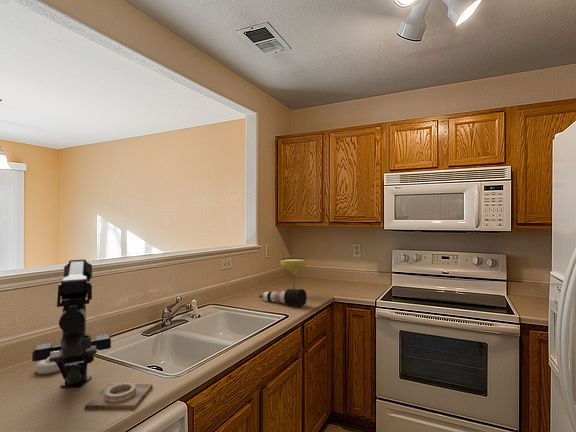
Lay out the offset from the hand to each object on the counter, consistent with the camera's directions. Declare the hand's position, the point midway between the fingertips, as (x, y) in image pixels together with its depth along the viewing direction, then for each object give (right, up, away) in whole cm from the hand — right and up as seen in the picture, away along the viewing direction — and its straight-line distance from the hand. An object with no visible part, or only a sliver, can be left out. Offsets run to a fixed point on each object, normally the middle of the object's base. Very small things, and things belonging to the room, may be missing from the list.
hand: (74, 376), depth 96 cm
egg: (0, -2, 0) cm, 2 cm away
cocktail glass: (+66, -9, +136) cm, 151 cm away
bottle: (+57, -9, +114) cm, 128 cm away
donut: (-22, -8, +22) cm, 32 cm away
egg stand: (+12, -8, +3) cm, 15 cm away
